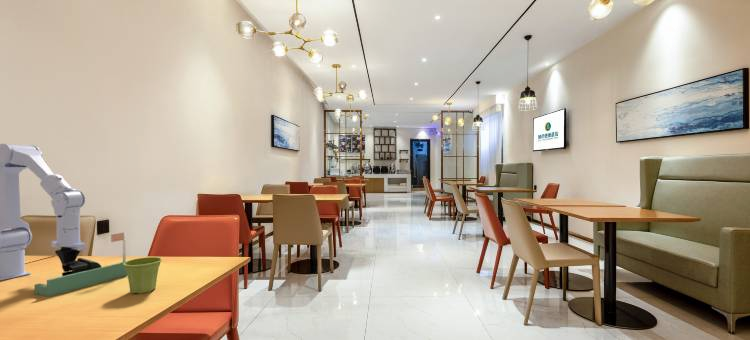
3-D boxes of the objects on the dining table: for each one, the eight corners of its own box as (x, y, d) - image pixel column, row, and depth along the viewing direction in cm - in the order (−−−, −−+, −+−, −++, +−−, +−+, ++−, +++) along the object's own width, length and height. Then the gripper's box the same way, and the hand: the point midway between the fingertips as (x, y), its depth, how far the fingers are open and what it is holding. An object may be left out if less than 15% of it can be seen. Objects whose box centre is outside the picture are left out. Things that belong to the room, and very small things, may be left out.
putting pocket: (34, 293, 101) (34, 242, 101) (116, 272, 122) (116, 230, 122) (49, 296, 98) (49, 244, 98) (130, 274, 119) (130, 231, 119)
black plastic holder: (102, 281, 112) (102, 259, 112) (74, 287, 106) (74, 264, 106) (88, 276, 117) (88, 256, 117) (61, 282, 111) (61, 260, 111)
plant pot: (166, 290, 103) (166, 260, 103) (127, 298, 96) (127, 267, 96) (156, 283, 109) (156, 255, 109) (119, 291, 102) (119, 261, 102)
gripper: (39, 229, 112) (39, 272, 112) (67, 232, 107) (67, 276, 107) (65, 226, 119) (65, 266, 119) (93, 228, 113) (93, 270, 113)
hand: (68, 271), depth 113 cm, fingers closed, pressing on black plastic holder
